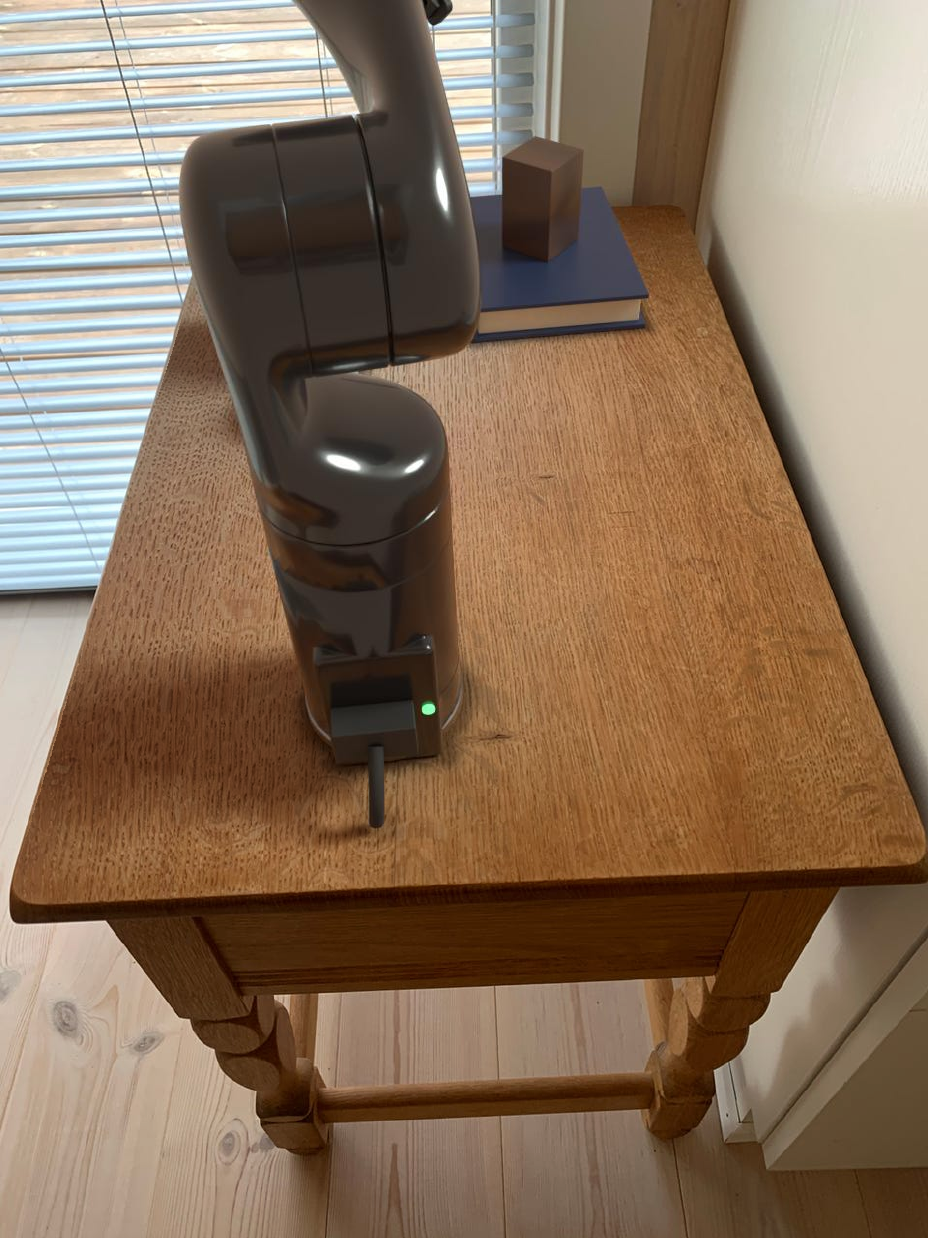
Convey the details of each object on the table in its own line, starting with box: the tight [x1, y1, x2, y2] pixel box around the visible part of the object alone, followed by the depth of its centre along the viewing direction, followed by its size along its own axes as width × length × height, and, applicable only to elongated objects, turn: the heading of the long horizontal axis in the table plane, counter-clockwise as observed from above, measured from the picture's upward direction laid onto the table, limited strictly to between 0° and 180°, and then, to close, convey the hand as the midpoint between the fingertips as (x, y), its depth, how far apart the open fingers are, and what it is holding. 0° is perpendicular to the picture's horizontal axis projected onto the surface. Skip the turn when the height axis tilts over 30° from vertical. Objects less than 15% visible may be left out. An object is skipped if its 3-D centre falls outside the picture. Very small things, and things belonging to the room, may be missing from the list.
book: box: [470, 186, 650, 344], centre depth 90 cm, size 20×15×3 cm
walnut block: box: [501, 135, 585, 262], centre depth 86 cm, size 5×5×8 cm
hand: (477, 3), depth 75 cm, fingers open, 8 cm apart
